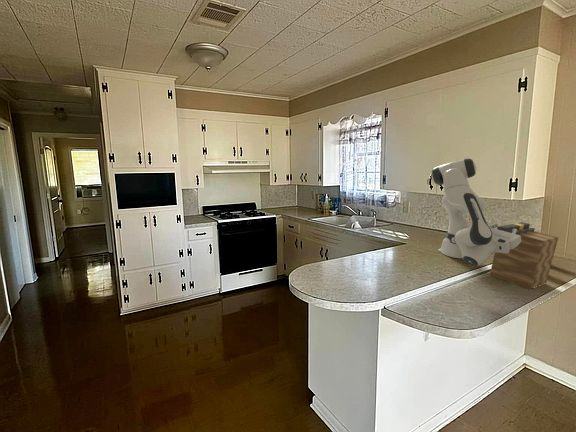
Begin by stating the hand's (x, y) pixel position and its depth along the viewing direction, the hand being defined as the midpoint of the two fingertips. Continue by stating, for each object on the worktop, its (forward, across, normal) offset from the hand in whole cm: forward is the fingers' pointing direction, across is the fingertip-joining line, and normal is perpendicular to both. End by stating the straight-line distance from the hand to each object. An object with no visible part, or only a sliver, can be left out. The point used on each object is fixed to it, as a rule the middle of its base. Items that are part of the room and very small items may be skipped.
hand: (505, 227), depth 164 cm
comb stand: (-2, +5, -32) cm, 33 cm away
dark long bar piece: (+6, 0, -7) cm, 10 cm away
